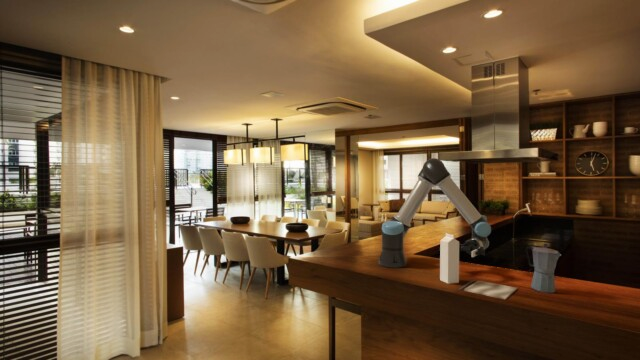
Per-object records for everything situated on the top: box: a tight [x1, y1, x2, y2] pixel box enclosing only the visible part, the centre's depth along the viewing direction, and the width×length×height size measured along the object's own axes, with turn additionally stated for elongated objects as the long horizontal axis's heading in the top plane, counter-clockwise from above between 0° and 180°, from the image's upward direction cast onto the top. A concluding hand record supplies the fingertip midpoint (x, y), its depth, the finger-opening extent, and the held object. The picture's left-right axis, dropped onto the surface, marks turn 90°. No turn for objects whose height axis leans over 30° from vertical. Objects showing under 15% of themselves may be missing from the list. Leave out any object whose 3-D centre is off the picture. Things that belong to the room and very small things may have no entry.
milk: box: [439, 232, 460, 285], centre depth 162 cm, size 6×6×22 cm
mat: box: [457, 279, 518, 300], centre depth 151 cm, size 19×18×1 cm
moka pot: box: [525, 243, 562, 294], centre depth 151 cm, size 10×15×20 cm, turn 28°
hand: (457, 252), depth 169 cm, fingers open, 13 cm apart
